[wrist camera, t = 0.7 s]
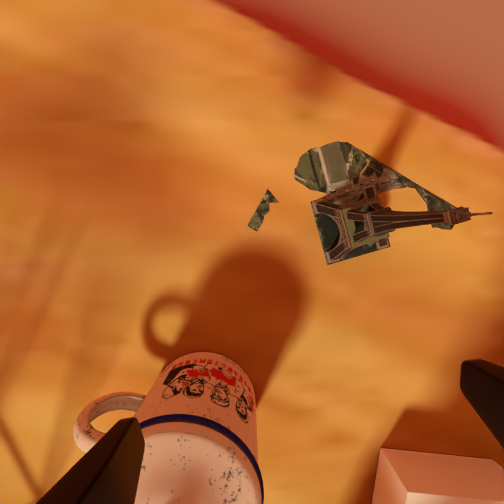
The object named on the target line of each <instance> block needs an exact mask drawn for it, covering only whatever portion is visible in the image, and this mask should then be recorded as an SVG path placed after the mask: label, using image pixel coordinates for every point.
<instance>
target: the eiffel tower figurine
mask: <svg viewBox="0 0 504 504" xmlns="http://www.w3.org/2000/svg"><path fill="white" fill-rule="evenodd" d="M294 179H295V180H296V181H298V182H300V183H301V184H303V185H305V186H306V187H307V188H308V189H310V190H315V191H320V192H324V193H327V194H329V195H332V196H328V197H325V198H321V199H318V200H314V201H311V205H312V209H313V213H314V216H315V220H316V224H317V228H318V231H319V235H320V239H321V242H322V246H323V250H324V254H325V257H326V261H327V265H329V264H332V263H336V262H339V261H343V260H346V259H350V258H353V257H356V256H360V255H363V254H367V253H370V252H374V251H377V250H381V249H384V248H388V247H390V243H389V239H388V237H389V232H392V231H395V229H398V228H405V227H412V226H420V225H428V224H431V225H432V228H433V227H437V228H441V229H449V230H451V229H452V228H453V226H454V225H455V224H458V223H461V222H465V221H468V220H471V218H470V217H471V216H474V215H487V214H492V212H485V213H473V214H471V212H469V209H468V207H467V208H464V207H458V208H455V207H454V206H452V205H450V204H449V203H447V202H445V201H444V200H442V199H440V198H439V197H437V196H435V195H434V194H432V193H430V192H429V191H427V190H425V189H424V188H422V187H420V186H419V185H417V184H416V183H414V182H412V181H411V180H409V179H407V178H406V177H404V176H402V175H401V174H399V173H397V172H396V171H394V170H392V169H391V168H389V167H387V166H386V165H384V164H383V163H381V162H379V161H378V160H376V159H374V158H373V157H371V156H369V155H368V154H366V153H364V152H363V151H361V150H359V149H358V148H356V147H354V146H353V145H351V144H349V143H348V142H339V141H337V142H333V143H329V144H326V145H324V146H322V147H317V148H312V149H310V150H309V151H307V152H306V153H305V154H303V155H302V156H301V157H300V159H299V162H298V165H297V167H296V168H295V178H294ZM405 187H410V188H415V189H416V190H417V192H418V193H419V194H420V196H421V197H422V198H423V200H424V201H425V202H426V204H427V208H428V211H424V212H401V211H392V210H391V208H389V207H387V208H384V207H382V204H381V200H380V199H378V196H377V194H378V193H380V192H383V191H388V190H392V189H396V188H405ZM272 202H278V201H277V199H276V198H275V197H274V196H273V195H272V193H271V192H270V191H269V190H267V191H266V193H265V195H264V197H263V199H262V201H261V203H260V204H259V206H258V208H257V210H256V212H255V214H254V215H253V217H252V219H251V221H250V222H249V224H248V226H249V227H250V228H252V229H254V230H255V231H258V229H259V227H260V226H261V224H262V222H263V219H264V215H265V214H267V213H268V212H269V211H270V209H269V203H272Z"/></svg>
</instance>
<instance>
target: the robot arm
mask: <svg viewBox="0 0 504 504" xmlns="http://www.w3.org/2000/svg"><path fill="white" fill-rule="evenodd" d="M460 388H461V391H462V393H463V395H464V396H465V397H466V399H467V400H468V401H469V403H470V404H471V406H472V407H473V408H474V410H475V411H476V412H477V414H478V415H479V416H480V418H481V419H482V420H483V422H484V423H485V424H486V426H487V427H488V428H489V430H490V431H491V433H492V434H493V435H494V437H495V438H496V439H497V441H498V442H499V443H500V445H501V446H502V447H503V448H504V367H501V366H498V365H496V364H493V363H490V362H487V361H485V360H482V359H471V360H465V361H463V362H462V364H461V375H460ZM144 450H145V440H144V437H143V434H142V431H141V428H140V425H139V422H138V420H137V418H135V417H131V418H125V419H121V420H119V421H118V422H117V423H116V424H115V425H114V426H113V427H112V428H111V429H110V430H109V431H108V432H107V433H106V434H105V435H104V436H103V437H102V438H101V439H100V440H99V441H98V442H97V443H96V444H95V445H94V446H93V447H92V448H91V449H90V450H89V451H88V452H87V453H86V454H85V455H84V456H83V457H82V458H81V459H80V460H79V461H78V462H77V463H76V464H75V465H74V466H73V467H72V468H71V469H70V470H69V471H68V472H67V473H66V474H65V475H64V476H63V477H62V478H61V479H60V480H59V481H58V482H57V483H56V484H55V485H54V486H53V487H52V488H51V489H50V490H49V491H48V492H47V493H46V494H45V495H44V496H43V497H42V498H41V499H40V500H39V501H38V502H37V503H36V504H135V498H136V493H137V488H138V482H139V477H140V472H141V466H142V461H143V456H144Z"/></svg>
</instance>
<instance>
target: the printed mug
mask: <svg viewBox="0 0 504 504" xmlns="http://www.w3.org/2000/svg"><path fill="white" fill-rule="evenodd" d="M113 410H129V411H134V412H136V414H135V415H134V417H135V418H137V420H138V422H139V425H140V428H141V431H142V434H143V437H144V440H145V450H144V456H143V461H142V466H141V472H140V477H139V482H138V488H137V493H136V498H135V504H263V500H264V488H263V480H262V476H261V472H260V469H259V466H258V451H257V427H256V404H255V393H254V389H253V386H252V383H251V381H250V379H249V377H248V376H247V374H246V373H245V371H244V370H243V369H242V368H241V367H240V366H239V365H238V364H237V363H235V362H234V361H232V360H231V359H229V358H227V357H225V356H223V355H220V354H216V353H211V352H196V353H191V354H187V355H184V356H182V357H180V358H178V359H176V360H174V361H173V362H171V363H170V364H169V365H168V366H167V367H166V368H165V369H164V370H163V371H162V372H161V374H160V375H159V377H158V378H157V380H156V381H155V383H154V385H153V386H152V388H151V390H150V391H149V393H148V394H147V396H146V395H142V394H138V393H133V392H115V393H111V394H107V395H104V396H102V397H100V398H98V399H96V400H94V401H93V402H91V403H90V404H88V405H87V406H86V407H85V408H84V409H83V410H82V411H81V413H80V414H79V416H78V417H77V420H76V422H75V426H74V430H73V436H74V440H75V442H76V444H77V446H78V447H79V448H80V449H81V450H82V451H84V452H85V453H87V452H88V451H89V450H90V449H91V448H92V447H93V446H94V445H95V444H96V443H97V442H98V441H99V440H100V439H101V438H102V437H103V436H104V435H105V433H102V432H100V431H97V430H96V429H94V428H93V427H92V426H91V424H90V422H91V421H93V420H94V419H95V418H97V417H98V416H100V415H102V414H104V413H106V412H109V411H113Z"/></svg>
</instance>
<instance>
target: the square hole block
mask: <svg viewBox="0 0 504 504" xmlns="http://www.w3.org/2000/svg"><path fill="white" fill-rule="evenodd" d="M372 504H504V469H503V468H502V467H501V466H500V465H499V464H497V463H496V462H495V461H494V460H493V459H484V458H475V457H465V456H455V455H445V454H436V453H426V452H416V451H406V450H397V449H387V448H380V454H379V461H378V467H377V473H376V479H375V486H374V492H373V498H372Z"/></svg>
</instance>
